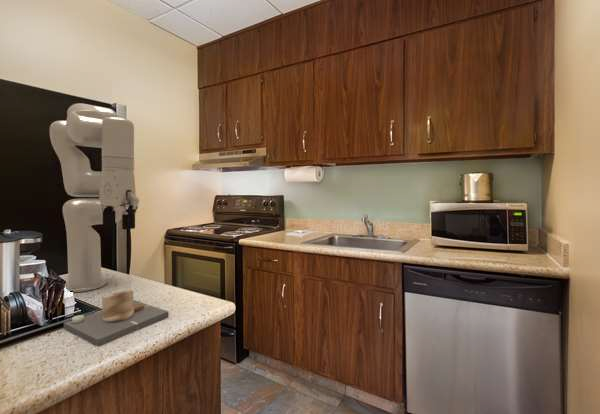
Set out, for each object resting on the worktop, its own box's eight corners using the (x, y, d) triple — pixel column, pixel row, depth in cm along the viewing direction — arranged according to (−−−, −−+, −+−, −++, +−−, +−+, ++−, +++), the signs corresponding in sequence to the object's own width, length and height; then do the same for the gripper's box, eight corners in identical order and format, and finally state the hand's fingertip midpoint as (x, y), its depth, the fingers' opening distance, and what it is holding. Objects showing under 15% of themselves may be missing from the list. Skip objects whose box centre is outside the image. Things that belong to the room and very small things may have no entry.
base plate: (63, 328, 74) (63, 318, 74) (134, 304, 90) (134, 296, 90) (98, 346, 66) (98, 334, 66) (168, 316, 82) (168, 307, 82)
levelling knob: (110, 325, 73) (109, 300, 73) (97, 317, 77) (97, 294, 77) (150, 311, 81) (149, 289, 81) (136, 305, 85) (136, 284, 85)
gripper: (87, 163, 82) (87, 224, 83) (122, 164, 73) (122, 232, 75) (115, 165, 88) (115, 221, 90) (150, 166, 80) (150, 229, 81)
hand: (118, 226), depth 82 cm, fingers open, 9 cm apart
